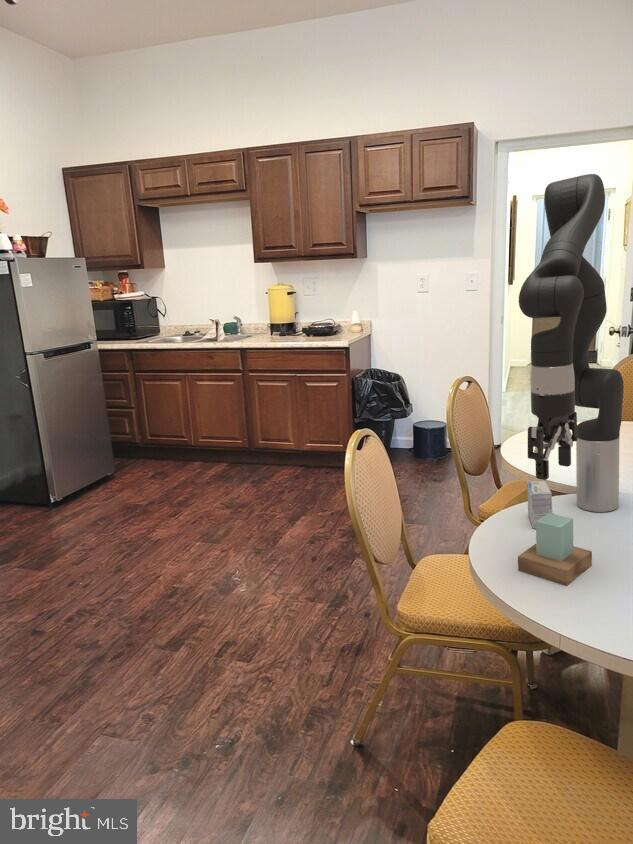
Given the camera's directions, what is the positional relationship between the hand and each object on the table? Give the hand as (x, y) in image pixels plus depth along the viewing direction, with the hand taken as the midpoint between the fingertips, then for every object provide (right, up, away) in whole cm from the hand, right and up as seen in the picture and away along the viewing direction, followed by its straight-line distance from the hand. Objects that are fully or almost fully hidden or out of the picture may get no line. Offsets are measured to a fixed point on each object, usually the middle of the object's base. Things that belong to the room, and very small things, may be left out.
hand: (553, 472), depth 115 cm
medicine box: (+7, -14, +26) cm, 30 cm away
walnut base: (+2, -19, +5) cm, 20 cm away
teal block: (+2, -16, +4) cm, 17 cm away
